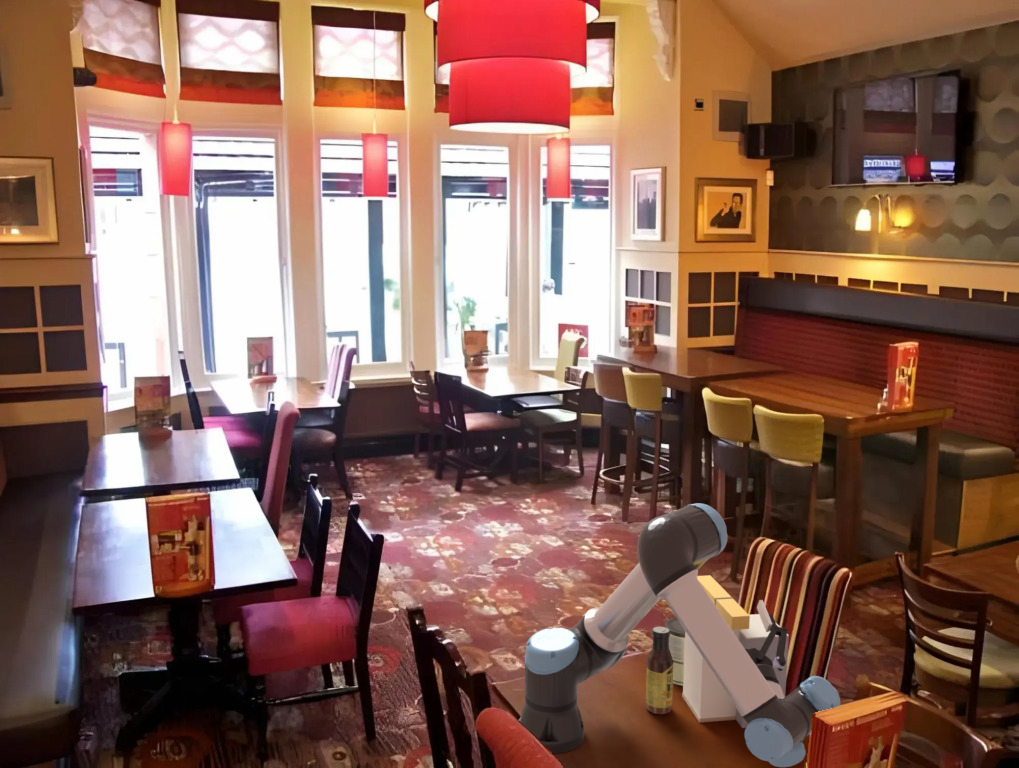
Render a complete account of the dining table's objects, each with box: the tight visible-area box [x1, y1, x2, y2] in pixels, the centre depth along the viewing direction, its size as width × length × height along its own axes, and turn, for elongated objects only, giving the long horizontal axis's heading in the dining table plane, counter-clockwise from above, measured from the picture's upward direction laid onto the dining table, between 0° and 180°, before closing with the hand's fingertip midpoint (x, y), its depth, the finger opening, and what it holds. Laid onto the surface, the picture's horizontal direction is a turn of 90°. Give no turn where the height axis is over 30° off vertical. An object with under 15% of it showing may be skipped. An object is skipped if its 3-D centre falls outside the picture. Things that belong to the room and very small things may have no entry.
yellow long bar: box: [697, 574, 750, 630], centre depth 212 cm, size 24×4×3 cm, turn 8°
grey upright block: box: [736, 613, 790, 729], centre depth 216 cm, size 12×10×22 cm
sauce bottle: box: [645, 626, 674, 715], centre depth 218 cm, size 6×6×20 cm
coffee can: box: [664, 617, 685, 687], centre depth 234 cm, size 10×10×14 cm
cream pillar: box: [681, 629, 741, 723], centre depth 218 cm, size 12×9×27 cm
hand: (730, 605), depth 206 cm, fingers open, 13 cm apart
